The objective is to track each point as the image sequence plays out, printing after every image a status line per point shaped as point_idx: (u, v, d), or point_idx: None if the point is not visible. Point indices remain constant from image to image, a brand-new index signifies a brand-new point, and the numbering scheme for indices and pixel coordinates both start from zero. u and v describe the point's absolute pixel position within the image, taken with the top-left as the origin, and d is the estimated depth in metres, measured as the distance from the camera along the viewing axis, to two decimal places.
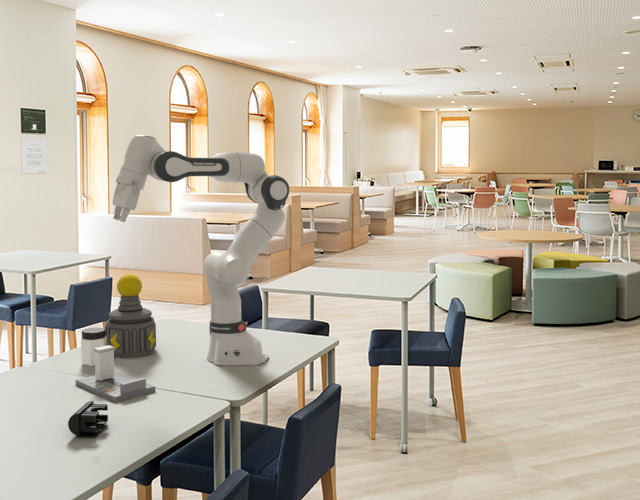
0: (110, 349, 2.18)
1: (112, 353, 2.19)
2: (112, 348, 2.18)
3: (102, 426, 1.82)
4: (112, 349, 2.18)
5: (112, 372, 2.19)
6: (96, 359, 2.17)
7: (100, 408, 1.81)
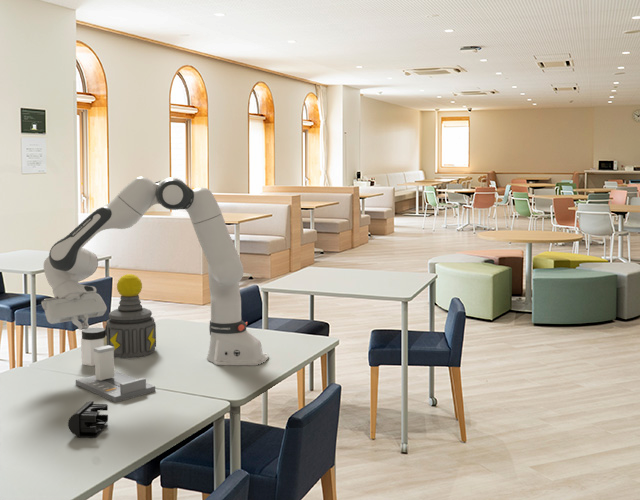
0: (110, 349, 2.18)
1: (112, 353, 2.19)
2: (112, 348, 2.18)
3: (102, 426, 1.82)
4: (112, 349, 2.18)
5: (112, 372, 2.19)
6: (96, 359, 2.17)
7: (100, 408, 1.81)
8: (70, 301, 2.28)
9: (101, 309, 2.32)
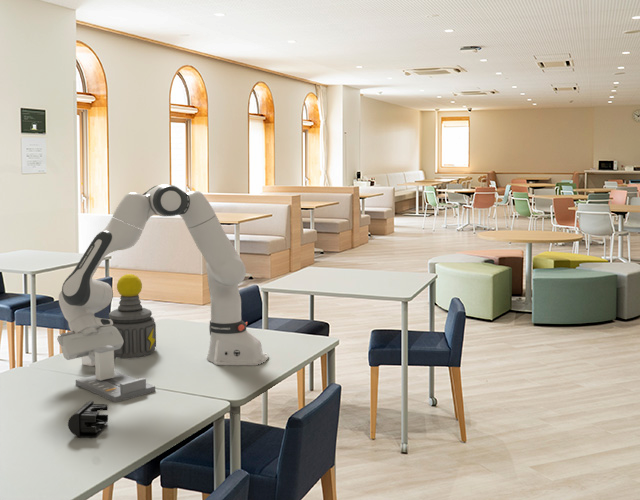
0: (110, 349, 2.18)
1: (112, 353, 2.19)
2: (112, 348, 2.18)
3: (102, 426, 1.82)
4: (112, 349, 2.18)
5: (112, 372, 2.19)
6: (96, 359, 2.17)
7: (100, 408, 1.81)
8: (86, 335, 2.22)
9: (118, 343, 2.27)
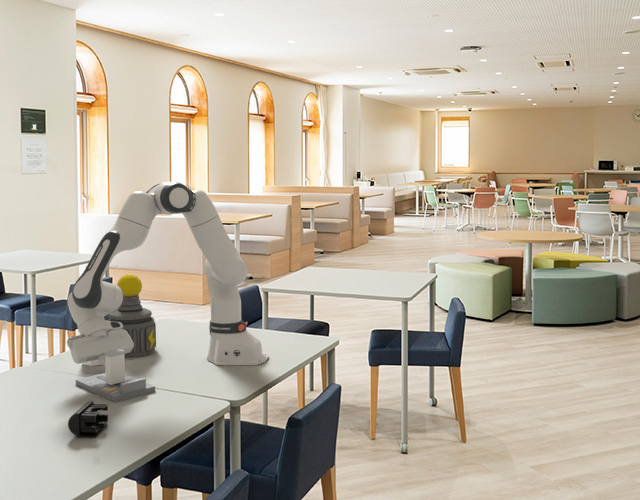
0: (121, 353, 2.13)
1: (123, 357, 2.14)
2: (123, 352, 2.14)
3: (102, 426, 1.82)
4: (123, 353, 2.14)
5: (123, 376, 2.15)
6: (106, 363, 2.12)
7: (100, 408, 1.81)
8: (96, 339, 2.18)
9: (128, 346, 2.22)
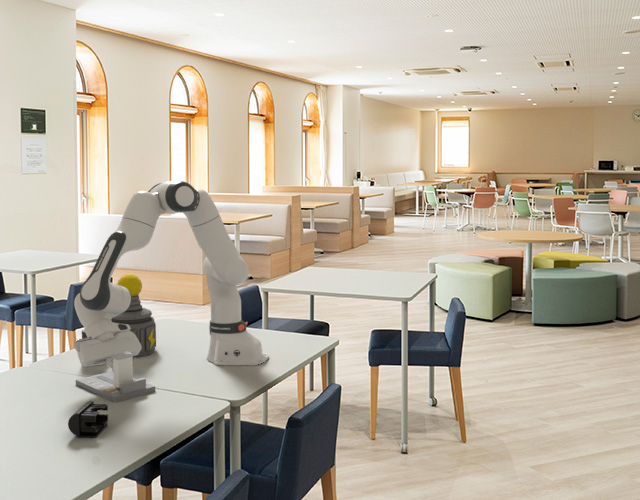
0: (129, 356, 2.10)
1: (131, 360, 2.11)
2: (131, 355, 2.11)
3: (102, 426, 1.82)
4: (131, 356, 2.11)
5: (131, 379, 2.12)
6: (114, 366, 2.09)
7: (100, 408, 1.81)
8: (104, 341, 2.14)
9: (136, 349, 2.19)
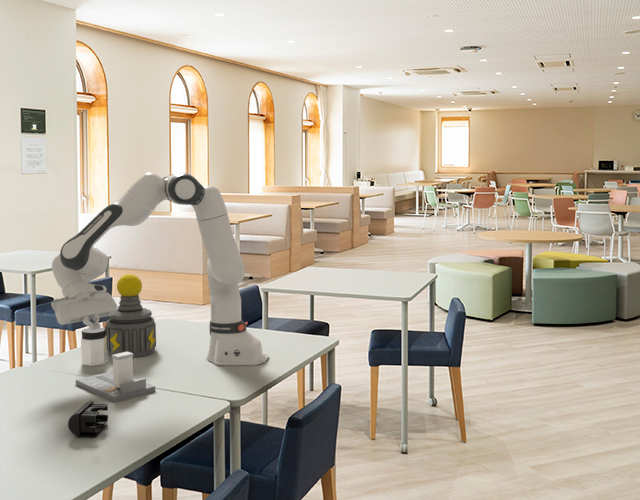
0: (129, 356, 2.10)
1: (131, 360, 2.11)
2: (131, 355, 2.11)
3: (102, 426, 1.82)
4: (131, 356, 2.11)
5: (131, 379, 2.12)
6: (114, 366, 2.09)
7: (100, 408, 1.81)
8: (80, 301, 2.23)
9: (112, 308, 2.28)
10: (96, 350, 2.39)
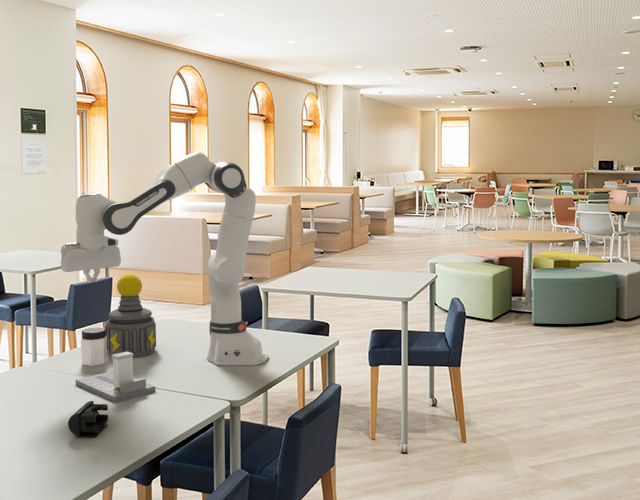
0: (129, 356, 2.10)
1: (131, 360, 2.11)
2: (131, 355, 2.11)
3: (102, 426, 1.82)
4: (131, 356, 2.11)
5: (131, 379, 2.12)
6: (114, 366, 2.09)
7: (100, 408, 1.81)
8: (89, 253, 2.25)
9: (115, 265, 2.32)
10: (96, 350, 2.39)
